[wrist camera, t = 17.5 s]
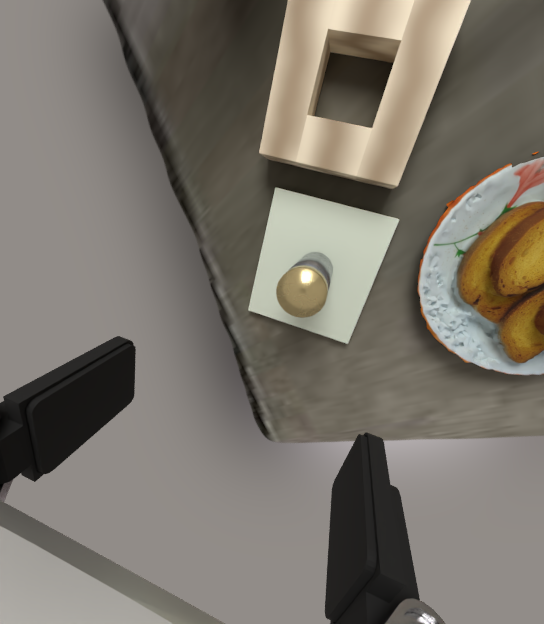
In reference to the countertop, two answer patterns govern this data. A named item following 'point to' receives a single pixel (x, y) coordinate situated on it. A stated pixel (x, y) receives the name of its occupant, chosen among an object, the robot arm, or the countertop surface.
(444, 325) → the food on plate
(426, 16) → the block
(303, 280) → the silver and gold cylinder
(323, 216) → the mat
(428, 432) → the countertop surface
